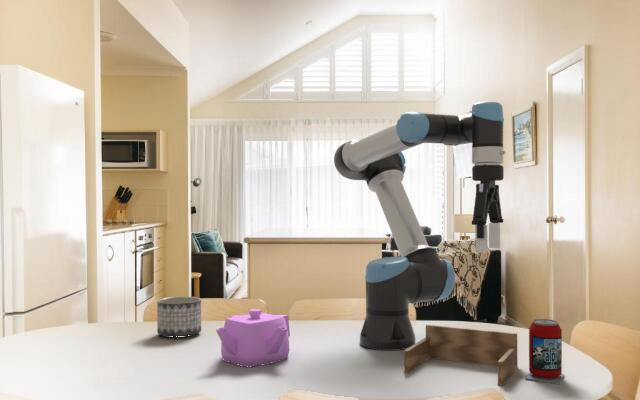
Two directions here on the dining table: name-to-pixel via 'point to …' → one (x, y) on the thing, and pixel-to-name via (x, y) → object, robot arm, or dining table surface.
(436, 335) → the partition
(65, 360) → the dining table surface
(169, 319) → the planter
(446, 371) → the dining table surface
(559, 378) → the mat
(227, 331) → the teakettle
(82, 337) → the dining table surface
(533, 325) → the beverage can
